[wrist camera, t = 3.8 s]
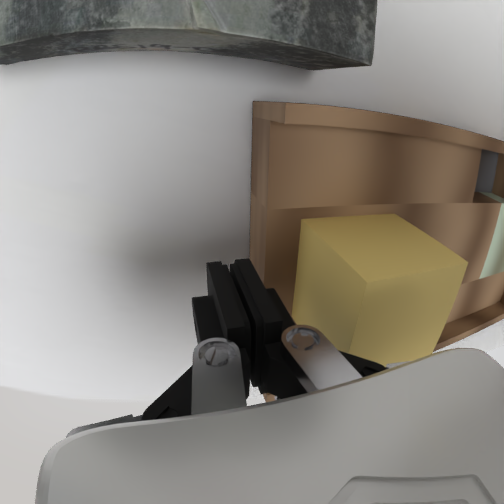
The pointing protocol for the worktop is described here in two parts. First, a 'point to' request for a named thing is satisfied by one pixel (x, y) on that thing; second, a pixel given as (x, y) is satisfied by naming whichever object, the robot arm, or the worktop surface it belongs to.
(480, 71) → the worktop surface
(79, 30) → the stone block
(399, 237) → the block
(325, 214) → the box
